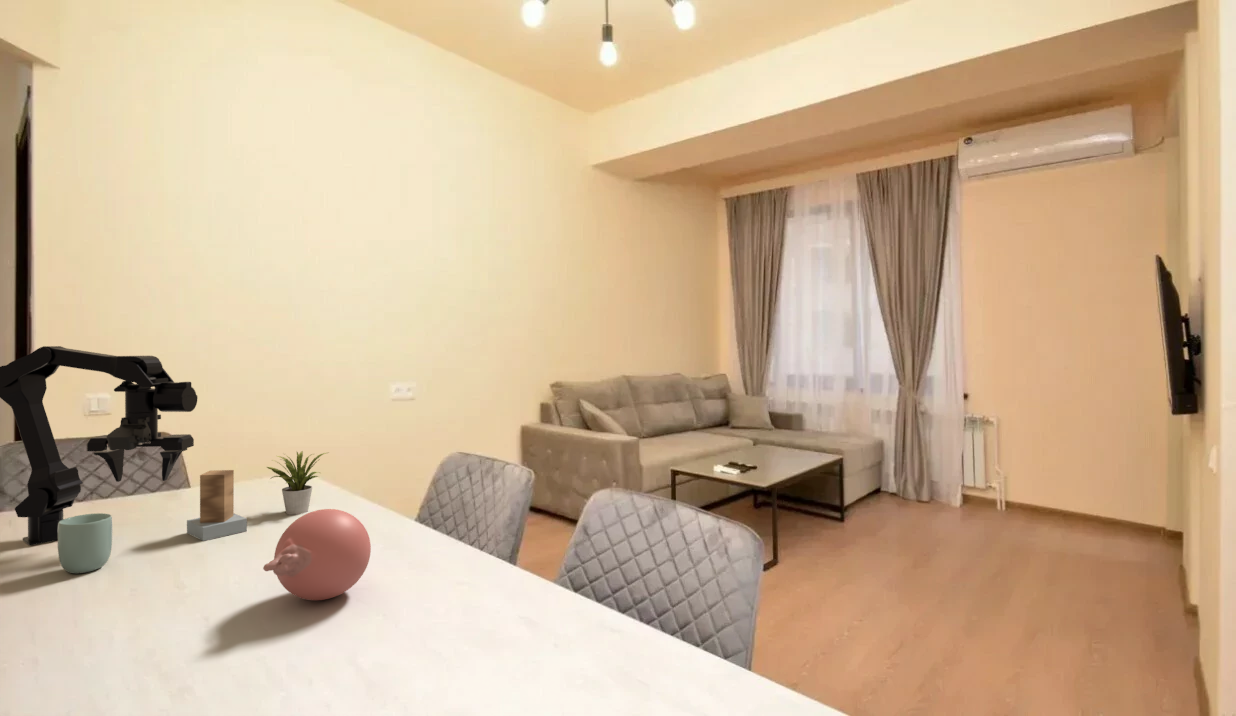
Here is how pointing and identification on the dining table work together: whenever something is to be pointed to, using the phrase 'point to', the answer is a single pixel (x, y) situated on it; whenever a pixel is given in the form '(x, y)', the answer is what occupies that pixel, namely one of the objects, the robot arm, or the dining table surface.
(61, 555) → the cup
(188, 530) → the pedestal
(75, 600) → the dining table surface
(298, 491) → the house plant
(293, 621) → the dining table surface
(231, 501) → the wooden block
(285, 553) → the balloon
